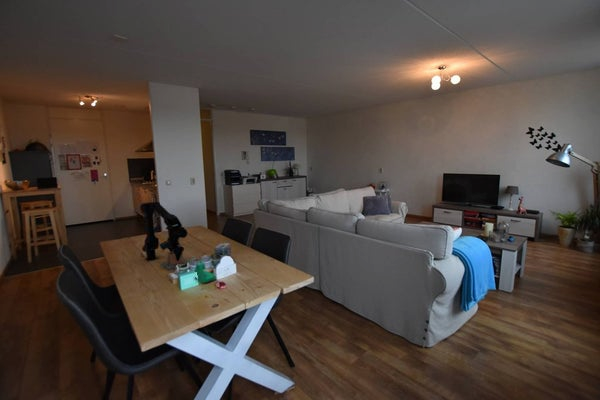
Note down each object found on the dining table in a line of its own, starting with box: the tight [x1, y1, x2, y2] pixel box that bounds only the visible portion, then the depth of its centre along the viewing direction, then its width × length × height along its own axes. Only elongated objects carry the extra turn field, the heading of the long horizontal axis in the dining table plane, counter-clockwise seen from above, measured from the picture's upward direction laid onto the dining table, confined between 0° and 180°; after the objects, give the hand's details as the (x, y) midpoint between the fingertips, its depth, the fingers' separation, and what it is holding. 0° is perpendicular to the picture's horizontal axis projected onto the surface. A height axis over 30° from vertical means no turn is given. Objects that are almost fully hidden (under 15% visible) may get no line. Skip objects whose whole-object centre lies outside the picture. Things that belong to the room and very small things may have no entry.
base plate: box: [160, 257, 189, 271], centre depth 186 cm, size 14×14×4 cm
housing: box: [166, 251, 184, 265], centre depth 186 cm, size 5×8×7 cm, turn 131°
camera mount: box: [194, 262, 217, 283], centre depth 162 cm, size 12×8×10 cm, turn 48°
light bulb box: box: [214, 242, 232, 257], centre depth 190 cm, size 11×7×11 cm, turn 168°
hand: (175, 259), depth 186 cm, fingers open, 9 cm apart
